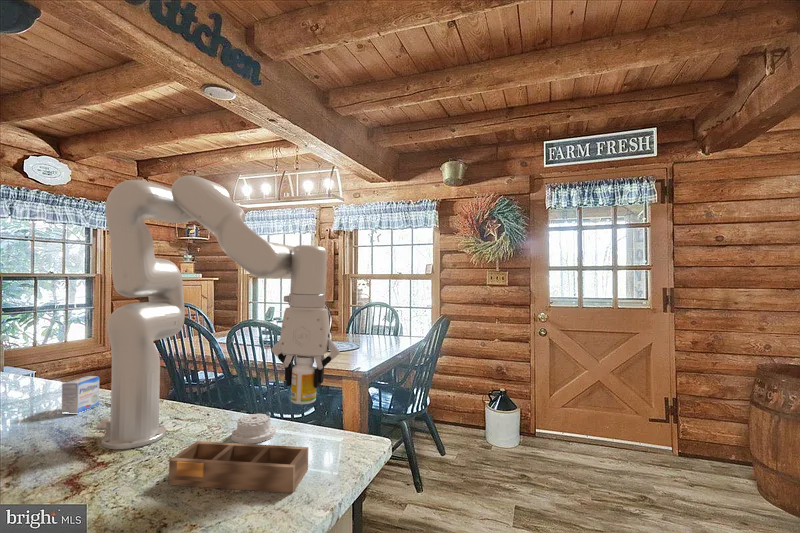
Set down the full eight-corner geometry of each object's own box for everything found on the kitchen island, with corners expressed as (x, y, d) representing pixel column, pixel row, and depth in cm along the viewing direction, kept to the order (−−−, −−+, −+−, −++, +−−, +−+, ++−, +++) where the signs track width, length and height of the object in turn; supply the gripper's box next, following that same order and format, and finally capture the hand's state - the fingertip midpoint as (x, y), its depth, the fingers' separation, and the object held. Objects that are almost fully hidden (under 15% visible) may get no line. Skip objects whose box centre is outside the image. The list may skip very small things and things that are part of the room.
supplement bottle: (319, 398, 90) (321, 354, 90) (310, 406, 85) (312, 359, 85) (296, 396, 91) (298, 352, 91) (286, 403, 86) (288, 357, 86)
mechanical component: (222, 443, 93) (261, 447, 91) (222, 423, 93) (262, 427, 91) (246, 427, 103) (282, 430, 101) (247, 409, 103) (283, 412, 101)
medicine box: (77, 415, 109) (78, 383, 109) (60, 415, 109) (61, 383, 109) (99, 405, 117) (100, 375, 117) (84, 405, 117) (84, 375, 117)
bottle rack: (167, 486, 74) (167, 461, 74) (196, 463, 83) (196, 441, 83) (292, 494, 72) (292, 468, 72) (308, 469, 80) (308, 447, 81)
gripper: (262, 301, 85) (258, 387, 85) (342, 305, 84) (338, 393, 83) (276, 299, 93) (273, 378, 92) (349, 302, 91) (346, 383, 91)
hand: (304, 384), depth 88 cm, fingers closed on supplement bottle, 5 cm apart
